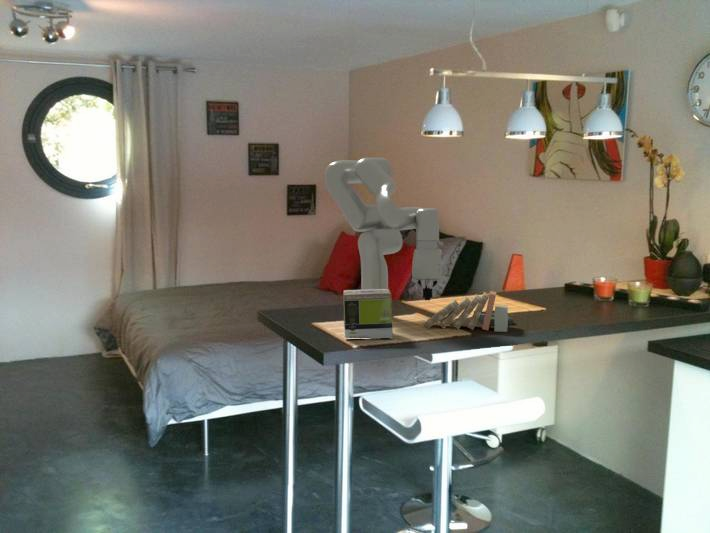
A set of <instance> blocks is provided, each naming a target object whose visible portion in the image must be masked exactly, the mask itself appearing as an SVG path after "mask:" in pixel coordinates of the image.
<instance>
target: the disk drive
mask: <svg viewBox="0 0 710 533" xmlns="http://www.w3.org/2000/svg"><path fill="white" fill-rule="evenodd" d="M474 312H475V310H473V313H474ZM485 313H486V310H485V311H483V310H482V312H481V314H480V317H479V319H478V321H477V322H479V323H480V324H482V325H483V323H484V318H485ZM494 324H495V310H493V311H492V316H491V320H490V325H489V326H494ZM511 325H514V320H513V317H512V316H510V315H509V314H508V326H511Z"/></svg>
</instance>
